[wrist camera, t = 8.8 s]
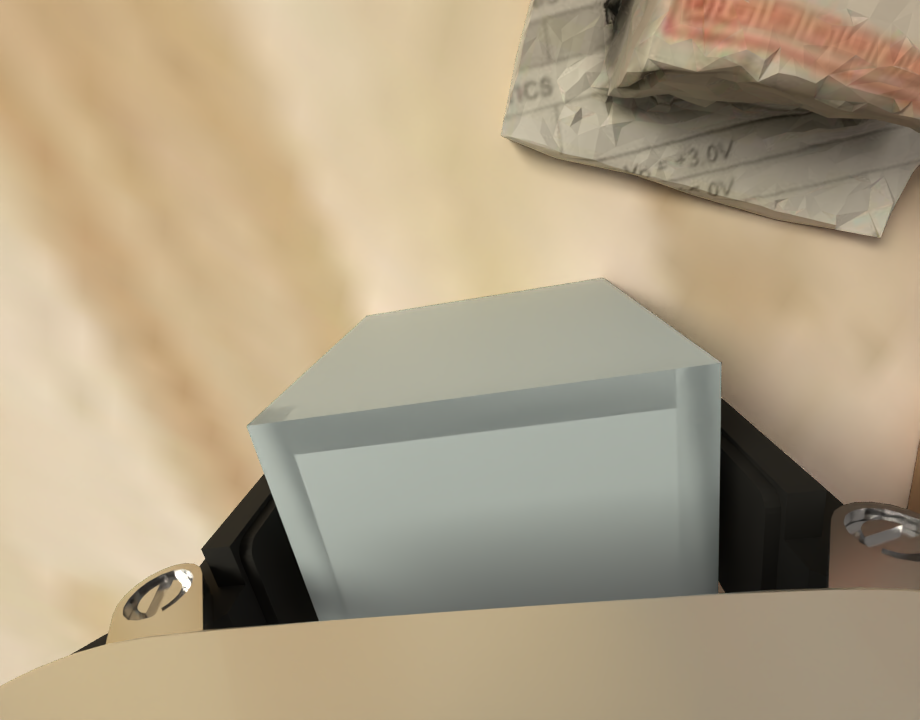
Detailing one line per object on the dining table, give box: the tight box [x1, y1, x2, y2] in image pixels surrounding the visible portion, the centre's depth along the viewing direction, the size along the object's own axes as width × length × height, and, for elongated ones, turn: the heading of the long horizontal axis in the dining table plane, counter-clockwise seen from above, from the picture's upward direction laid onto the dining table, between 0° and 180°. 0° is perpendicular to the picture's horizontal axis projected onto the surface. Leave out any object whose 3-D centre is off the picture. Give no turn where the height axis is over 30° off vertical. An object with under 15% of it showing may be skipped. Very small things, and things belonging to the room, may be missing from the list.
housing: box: [247, 278, 721, 621], centre depth 11 cm, size 7×7×7 cm
